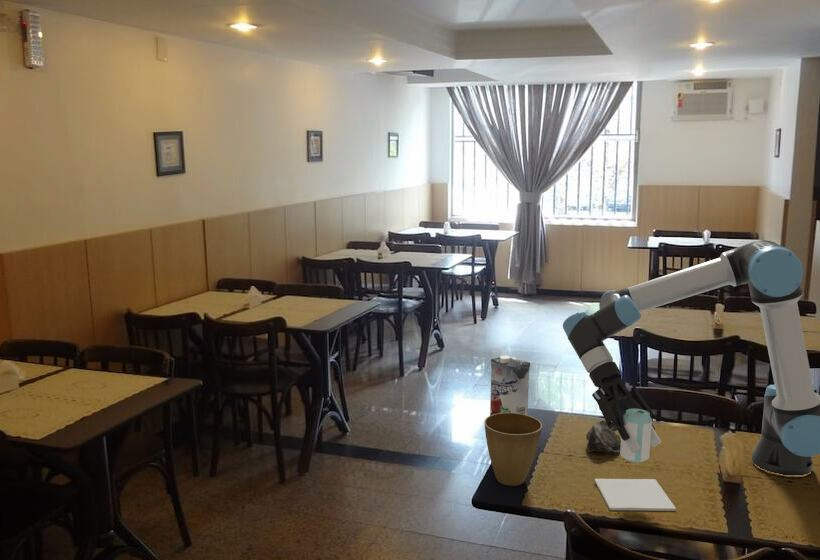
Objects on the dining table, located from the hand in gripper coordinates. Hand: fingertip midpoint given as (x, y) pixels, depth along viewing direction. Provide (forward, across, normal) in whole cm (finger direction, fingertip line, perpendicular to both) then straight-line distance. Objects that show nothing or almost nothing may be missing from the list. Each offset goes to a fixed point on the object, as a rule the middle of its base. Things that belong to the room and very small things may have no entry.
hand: (646, 447), depth 187 cm
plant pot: (-9, +20, -29) cm, 36 cm away
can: (0, 0, -6) cm, 6 cm away
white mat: (+8, 0, -12) cm, 14 cm away
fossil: (-9, -16, -29) cm, 34 cm away
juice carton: (-22, +5, -42) cm, 48 cm away
